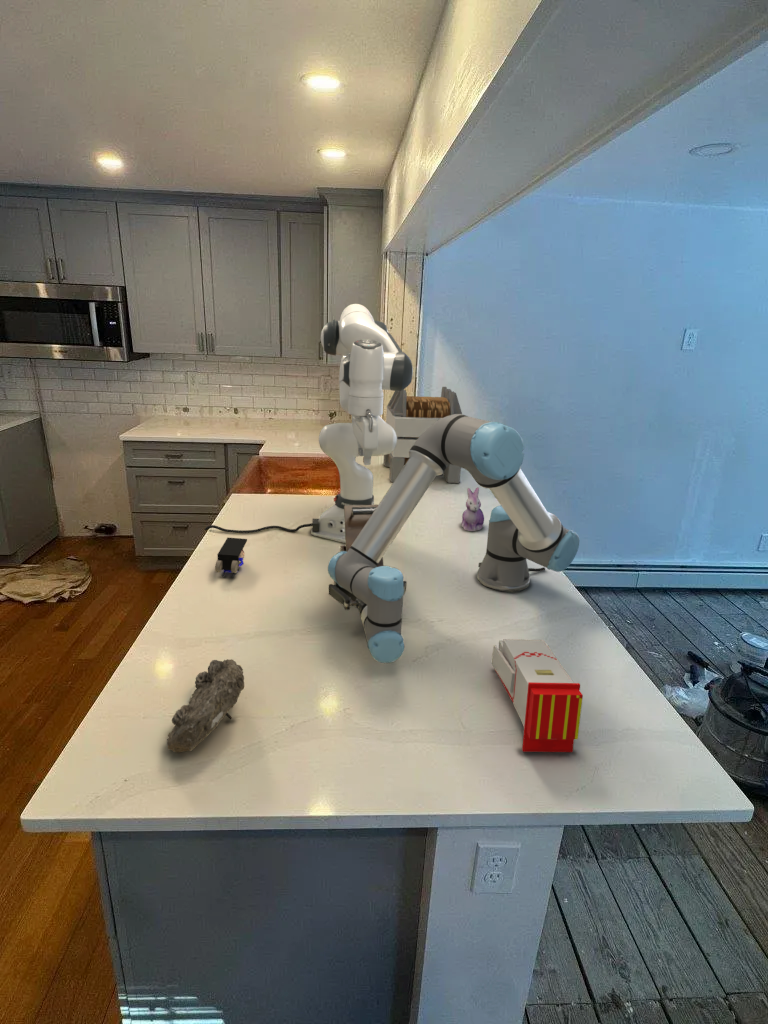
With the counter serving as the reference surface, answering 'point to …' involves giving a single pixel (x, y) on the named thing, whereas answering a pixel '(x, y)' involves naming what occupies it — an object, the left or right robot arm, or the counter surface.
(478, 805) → the counter surface
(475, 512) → the figurine
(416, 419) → the transformer
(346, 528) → the lid
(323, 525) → the left robot arm
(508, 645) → the toy
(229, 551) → the black wheeled rover
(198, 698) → the fossil
